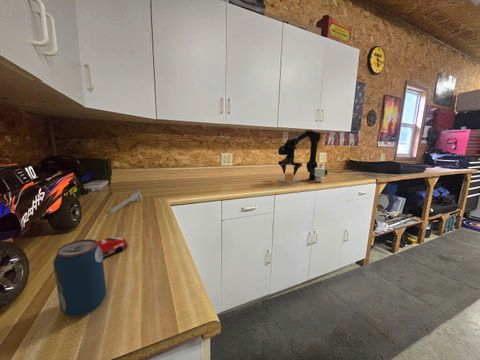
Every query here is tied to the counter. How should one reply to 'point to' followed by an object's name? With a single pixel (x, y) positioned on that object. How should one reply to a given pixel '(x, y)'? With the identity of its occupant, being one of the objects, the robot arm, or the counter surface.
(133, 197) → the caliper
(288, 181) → the junction plate
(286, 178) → the wire nut cap
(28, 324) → the counter surface
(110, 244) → the race car
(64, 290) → the soda can
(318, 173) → the pneumatic valve
